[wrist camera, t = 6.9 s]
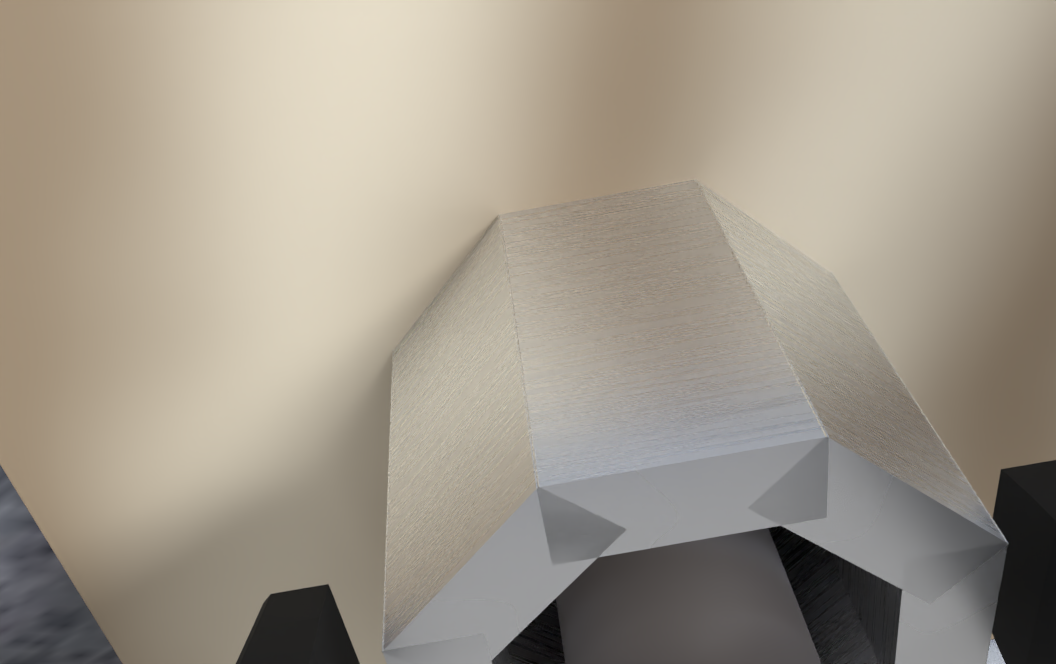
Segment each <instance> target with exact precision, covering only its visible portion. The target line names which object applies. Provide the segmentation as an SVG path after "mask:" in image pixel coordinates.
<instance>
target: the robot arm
mask: <svg viewBox="0 0 1056 664" xmlns="http://www.w3.org/2000/svg"><path fill="white" fill-rule="evenodd" d="M993 520H994V521H995V523H996V524H997V526H998V528H999V529H1000V531H1001V532H1002V534H1003V535H1004V537H1005V538H1006V540H1007V541H1008V543H1009V544H1008V546H1007V552H1006V557H1005V563H1004V568H1003V574H1002V579H1001V585H1000V590H999V596H998V601H997V607H996V612H995V618H994V623H993V628H992V634H993V636H994V638H995V641H996V643H997V645H998V648H999V650H1000V652H1001V655H1002V657H1003V659H1004V661H1005V663H1006V664H1056V460H1052V461H1046V462H1040V463H1034V464H1028V465H1023V466H1017V467H1011V468H1005V469H1001V472H1000V477H999V483H998V489H997V495H996V500H995V506H994V512H993ZM236 664H360V663H359V660H358V658H357V655H356V653H355V650H354V647H353V645H352V642H351V640H350V637H349V635H348V632H347V630H346V627H345V625H344V622H343V619H342V617H341V614H340V612H339V609H338V607H337V604H336V602H335V599H334V596H333V594H332V591H331V589H330V586H329V584H326V585H320V586H314V587H308V588H302V589H296V590H290V591H285V592H279V593H273V594H270V595H269V597H268V598H267V599H266V600H265V601H264V603H263V605H262V607H261V609H260V611H259V614H258V616H257V618H256V620H255V623H254V625H253V627H252V629H251V631H250V634H249V636H248V638H247V640H246V642H245V645H244V647H243V649H242V651H241V653H240V655H239V658H238V660H237V662H236Z"/></svg>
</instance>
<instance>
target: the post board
mask: <svg viewBox="0 0 1056 664" xmlns="http://www.w3.org/2000/svg"><path fill="white" fill-rule="evenodd" d="M694 179H697V181H699V182H700V183H702V184H703V185H705V186H706V187H707V188H709V189H710V190H712V191H713V192H715V193H716V194H718V195H719V196H721V197H722V198H723V199H725V200H726V201H728V202H729V203H731V204H732V205H734V206H735V207H737V208H738V209H739V210H741V211H742V212H744V213H745V214H747V215H748V216H750V217H751V218H753V219H754V220H755V221H757V222H758V223H760V224H761V225H763V226H764V227H766V228H767V229H769V230H770V231H771V232H773V233H774V234H776V235H777V236H779V237H780V238H782V239H783V240H785V241H786V242H787V243H789V244H790V245H792V246H793V247H795V248H796V249H798V250H799V251H801V252H802V253H803V254H805V255H806V256H808V257H809V258H811V259H812V260H814V261H815V262H817V263H818V264H819V265H821V266H822V267H824V268H825V269H827V270H828V271H830V272H832V273H833V275H834V276H835V278H836V279H837V281H838V282H839V284H840V285H841V287H842V288H843V290H844V292H845V293H846V295H847V296H848V298H849V299H850V301H851V302H852V304H853V305H854V307H855V308H856V310H857V311H858V313H859V315H860V316H861V318H862V319H863V321H864V322H865V324H866V325H867V327H868V328H869V330H870V331H871V333H872V334H873V336H874V338H875V339H876V341H877V342H878V344H879V345H880V347H881V348H882V350H883V351H884V353H885V354H886V356H887V357H888V359H889V360H890V362H891V364H892V365H893V367H894V368H895V370H896V371H897V373H898V374H899V376H900V377H901V379H902V380H903V382H904V383H905V385H906V387H907V388H908V390H909V391H910V393H911V394H912V396H913V397H914V399H915V400H916V402H917V403H918V405H919V406H920V408H921V410H922V411H923V413H924V414H925V416H926V417H927V419H928V420H929V422H930V423H931V425H932V426H933V428H934V429H935V431H936V433H937V434H938V436H939V437H940V439H941V440H942V442H943V443H944V445H945V446H946V448H947V449H948V451H949V452H950V454H951V456H952V457H953V459H954V460H955V462H956V463H957V465H958V466H959V468H960V469H961V471H962V472H963V474H964V475H965V477H966V478H967V480H968V482H969V483H970V485H971V486H972V488H973V489H974V491H975V492H976V494H977V495H978V497H979V498H980V500H981V501H982V503H983V505H984V506H985V508H986V509H987V511H988V512H989V514H990V515H991V517H992V518H993V512H994V506H995V500H996V495H997V489H998V483H999V477H1000V472H1001V469H1005V468H1011V467H1017V466H1023V465H1028V464H1034V463H1040V462H1046V461H1052V460H1056V0H0V465H1V466H2V468H3V470H4V471H5V473H6V475H7V476H8V478H9V480H10V481H11V483H12V484H13V486H14V488H15V489H16V491H17V493H18V494H19V496H20V497H21V499H22V501H23V502H24V504H25V506H26V507H27V509H28V510H29V512H30V514H31V515H32V517H33V519H34V520H35V522H36V524H37V525H38V527H39V528H40V530H41V532H42V533H43V535H44V537H45V538H46V540H47V541H48V543H49V545H50V546H51V548H52V550H53V551H54V553H55V554H56V556H57V558H58V559H59V561H60V563H61V564H62V566H63V568H64V569H65V571H66V572H67V574H68V576H69V577H70V579H71V581H72V582H73V584H74V585H75V587H76V589H77V590H78V592H79V594H80V595H81V597H82V599H83V600H84V602H85V603H86V605H87V607H88V608H89V610H90V612H91V613H92V615H93V616H94V618H95V620H96V621H97V623H98V625H99V626H100V628H101V629H102V631H103V633H104V634H105V636H106V638H107V639H108V641H109V643H110V644H111V646H112V647H113V649H114V651H115V652H116V654H117V656H118V657H119V659H120V660H121V662H122V664H236V662H237V660H238V658H239V655H240V653H241V651H242V649H243V647H244V645H245V642H246V640H247V638H248V636H249V634H250V631H251V629H252V627H253V625H254V623H255V620H256V618H257V616H258V614H259V611H260V609H261V607H262V605H263V603H264V601H265V600H266V599H267V598H268V597H269V595H270V594H273V593H279V592H285V591H290V590H296V589H302V588H308V587H314V586H320V585H326V584H329V586H330V589H331V591H332V594H333V596H334V599H335V602H336V604H337V607H338V609H339V612H340V614H341V617H342V619H343V622H344V625H345V627H346V630H347V632H348V635H349V637H350V640H351V642H352V645H353V647H354V650H355V653H356V655H357V658H358V660H359V663H360V664H387V663H386V660H385V657H384V655H383V653H382V632H383V604H384V576H385V549H386V521H387V493H388V465H389V438H390V410H391V382H392V355H393V350H394V349H395V348H396V346H397V345H398V344H399V343H400V341H401V340H402V339H403V338H404V336H405V335H406V334H407V332H408V331H409V330H410V329H411V327H412V326H413V325H414V323H415V322H416V321H417V320H418V318H419V317H420V316H421V314H422V313H423V312H424V311H425V309H426V308H427V307H428V305H429V304H430V303H431V302H432V300H433V299H434V298H435V296H436V295H437V294H438V293H439V291H440V290H441V289H442V287H443V286H444V285H445V284H446V282H447V281H448V280H449V279H450V277H451V276H452V275H453V273H454V272H455V271H456V270H457V268H458V267H459V266H460V264H461V263H462V262H463V261H464V259H465V258H466V257H467V255H468V254H469V253H470V252H471V250H472V249H473V248H474V246H475V245H476V244H477V243H478V241H479V240H480V239H481V237H482V236H483V235H484V234H485V232H486V231H487V230H488V228H489V227H490V226H491V225H492V223H493V222H494V221H495V219H496V218H497V217H498V215H499V214H505V213H511V212H516V211H522V210H527V209H533V208H539V207H544V206H550V205H555V204H561V203H567V202H572V201H578V200H583V199H589V198H594V197H600V196H606V195H611V194H617V193H622V192H628V191H634V190H639V189H645V188H650V187H656V186H661V185H667V184H673V183H678V182H684V181H689V180H694ZM556 602H557V609H558V616H559V623H560V630H561V637H562V644H563V651H564V658H565V664H821V662H820V658H819V655H818V653H817V650H816V648H815V645H814V643H813V640H812V638H811V635H810V633H809V630H808V628H807V625H806V622H805V620H804V617H803V615H802V612H801V610H800V607H799V605H798V602H797V600H796V597H795V594H794V592H793V589H792V587H791V584H790V582H789V579H788V577H787V574H786V572H785V569H784V567H783V564H782V561H781V559H780V556H779V554H778V551H777V549H776V546H775V544H774V541H773V539H772V536H771V533H770V531H769V528H764V529H759V530H753V531H747V532H742V533H736V534H730V535H724V536H719V537H713V538H707V539H701V540H696V541H690V542H684V543H678V544H673V545H667V546H661V547H655V548H650V549H644V550H638V551H632V552H627V553H621V554H615V555H609V556H604V557H598V558H597V559H596V560H595V561H594V562H593V563H592V564H591V565H590V566H589V567H588V568H587V569H586V570H584V571H583V572H582V573H581V574H580V575H579V576H578V577H577V578H576V579H575V580H574V581H573V582H572V583H571V584H570V585H569V586H568V587H567V588H566V589H565V590H564V591H563V592H562V593H561V594H560V595H559V596H558V597H557V598H556ZM991 639H995V638H994V636H993V634H991ZM991 639H990V640H991Z"/></svg>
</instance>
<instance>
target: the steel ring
mask: <svg viewBox="0 0 1056 664" xmlns="http://www.w3.org/2000/svg"><path fill="white" fill-rule="evenodd" d="M764 528H769V531H770V533H771V536H772V539H773V541H774V544H775V546H776V549H777V551H778V554H779V556H780V559H781V561H782V564H783V567H784V569H785V572H786V574H787V577H788V579H789V582H790V584H791V587H792V589H793V592H794V594H795V597H796V600H797V602H798V605H799V607H800V610H801V612H802V615H803V617H804V620H805V622H806V625H807V628H808V630H809V633H810V635H811V638H812V640H813V643H814V645H815V648H816V650H817V653H818V655H819V658H820V662H821V664H986V661H987V656H988V650H989V645H990V639H991V634H992V628H993V623H994V618H995V612H996V607H997V601H998V596H999V590H1000V585H1001V579H1002V574H1003V568H1004V563H1005V557H1006V552H1007V546H1008V544H1009V543H1008V541H1007V540H1006V538H1005V537H1004V535H1003V534H1002V532H1001V531H1000V529H999V528H998V526H997V524H996V523H995V521H994V520H993V518H992V517H991V515H990V514H989V512H988V511H987V509H986V508H985V506H984V505H983V503H982V501H981V500H980V498H979V497H978V495H977V494H976V492H975V491H974V489H973V488H972V486H971V485H970V483H969V482H968V480H967V478H966V477H965V475H964V474H963V472H962V471H961V469H960V468H959V466H958V465H957V463H956V462H955V460H954V459H953V457H952V456H951V454H950V452H949V451H948V449H947V448H946V446H945V445H944V443H943V442H942V440H941V439H940V437H939V436H938V434H937V433H936V431H935V429H934V428H933V426H932V425H931V423H930V422H929V420H928V419H927V417H926V416H925V414H924V413H923V411H922V410H921V408H920V406H919V405H918V403H917V402H916V400H915V399H914V397H913V396H912V394H911V393H910V391H909V390H908V388H907V387H906V385H905V383H904V382H903V380H902V379H901V377H900V376H899V374H898V373H897V371H896V370H895V368H894V367H893V365H892V364H891V362H890V360H889V359H888V357H887V356H886V354H885V353H884V351H883V350H882V348H881V347H880V345H879V344H878V342H877V341H876V339H875V338H874V336H873V334H872V333H871V331H870V330H869V328H868V327H867V325H866V324H865V322H864V321H863V319H862V318H861V316H860V315H859V313H858V311H857V310H856V308H855V307H854V305H853V304H852V302H851V301H850V299H849V298H848V296H847V295H846V293H845V292H844V290H843V288H842V287H841V285H840V284H839V282H838V281H837V279H836V278H835V276H834V275H833V273H832V272H830V271H828V270H827V269H825V268H824V267H822V266H821V265H819V264H818V263H817V262H815V261H814V260H812V259H811V258H809V257H808V256H806V255H805V254H803V253H802V252H801V251H799V250H798V249H796V248H795V247H793V246H792V245H790V244H789V243H787V242H786V241H785V240H783V239H782V238H780V237H779V236H777V235H776V234H774V233H773V232H771V231H770V230H769V229H767V228H766V227H764V226H763V225H761V224H760V223H758V222H757V221H755V220H754V219H753V218H751V217H750V216H748V215H747V214H745V213H744V212H742V211H741V210H739V209H738V208H737V207H735V206H734V205H732V204H731V203H729V202H728V201H726V200H725V199H723V198H722V197H721V196H719V195H718V194H716V193H715V192H713V191H712V190H710V189H709V188H707V187H706V186H705V185H703V184H702V183H700V182H699V181H697V179H694V180H689V181H684V182H678V183H673V184H667V185H661V186H656V187H650V188H645V189H639V190H634V191H628V192H622V193H617V194H611V195H606V196H600V197H594V198H589V199H583V200H578V201H572V202H567V203H561V204H555V205H550V206H544V207H539V208H533V209H527V210H522V211H516V212H511V213H505V214H499V215H498V217H497V218H496V219H495V221H494V222H493V223H492V225H491V226H490V227H489V228H488V230H487V231H486V232H485V234H484V235H483V236H482V237H481V239H480V240H479V241H478V243H477V244H476V245H475V246H474V248H473V249H472V250H471V252H470V253H469V254H468V255H467V257H466V258H465V259H464V261H463V262H462V263H461V264H460V266H459V267H458V268H457V270H456V271H455V272H454V273H453V275H452V276H451V277H450V279H449V280H448V281H447V282H446V284H445V285H444V286H443V287H442V289H441V290H440V291H439V293H438V294H437V295H436V296H435V298H434V299H433V300H432V302H431V303H430V304H429V305H428V307H427V308H426V309H425V311H424V312H423V313H422V314H421V316H420V317H419V318H418V320H417V321H416V322H415V323H414V325H413V326H412V327H411V329H410V330H409V331H408V332H407V334H406V335H405V336H404V338H403V339H402V340H401V341H400V343H399V344H398V345H397V346H396V348H395V349H394V350H393V355H392V382H391V410H390V438H389V465H388V493H387V521H386V549H385V576H384V604H383V632H382V653H383V655H384V657H385V660H386V663H387V664H565V658H564V651H563V644H562V637H561V630H560V623H559V616H558V609H557V602H556V598H557V597H558V596H559V595H560V594H561V593H562V592H563V591H564V590H565V589H566V588H567V587H568V586H569V585H570V584H571V583H572V582H573V581H574V580H575V579H576V578H577V577H578V576H579V575H580V574H581V573H582V572H583V571H584V570H586V569H587V568H588V567H589V566H590V565H591V564H592V563H593V562H594V561H595V560H596V559H597V558H598V557H604V556H609V555H615V554H621V553H627V552H632V551H638V550H644V549H650V548H655V547H661V546H667V545H673V544H678V543H684V542H690V541H696V540H701V539H707V538H713V537H719V536H724V535H730V534H736V533H742V532H747V531H753V530H759V529H764Z"/></svg>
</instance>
